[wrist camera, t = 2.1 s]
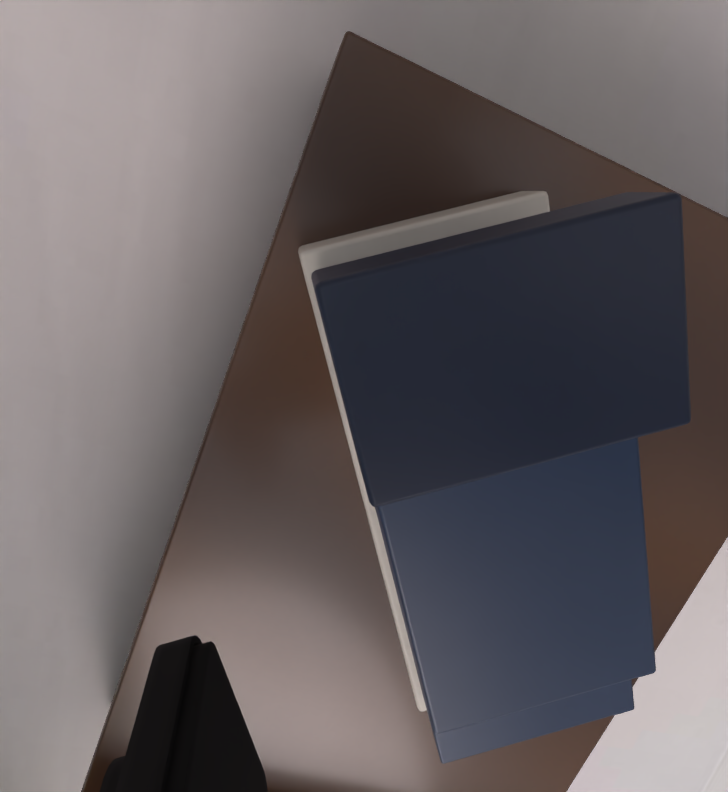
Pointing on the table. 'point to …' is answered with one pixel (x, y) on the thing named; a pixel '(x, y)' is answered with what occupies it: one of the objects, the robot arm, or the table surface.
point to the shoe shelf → (335, 474)
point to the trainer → (510, 444)
